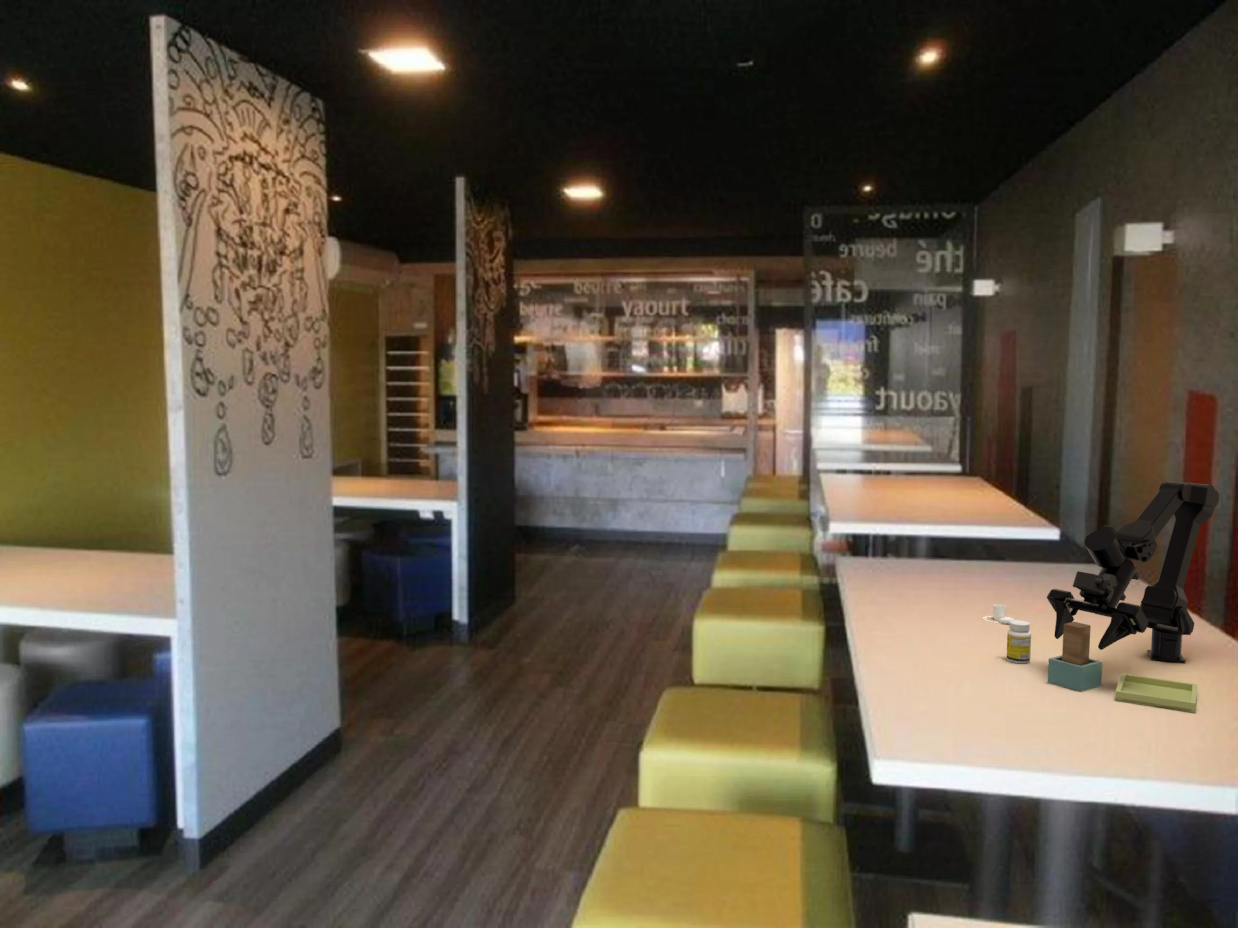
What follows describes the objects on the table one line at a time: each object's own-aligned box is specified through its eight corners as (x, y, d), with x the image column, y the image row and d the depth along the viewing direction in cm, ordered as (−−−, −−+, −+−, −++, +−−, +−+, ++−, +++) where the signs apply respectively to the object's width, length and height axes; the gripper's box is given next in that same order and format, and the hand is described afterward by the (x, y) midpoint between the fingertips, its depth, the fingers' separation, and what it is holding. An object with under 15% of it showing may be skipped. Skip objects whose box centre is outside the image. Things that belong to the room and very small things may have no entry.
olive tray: (1121, 681, 194) (1121, 673, 194) (1196, 693, 187) (1197, 684, 187) (1115, 700, 183) (1115, 690, 183) (1195, 712, 176) (1195, 703, 176)
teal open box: (1068, 676, 198) (1069, 653, 197) (1101, 685, 192) (1102, 661, 191) (1047, 681, 194) (1048, 658, 193) (1080, 691, 188) (1081, 667, 187)
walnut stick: (1071, 679, 195) (1073, 621, 194) (1087, 684, 192) (1090, 625, 191) (1060, 682, 193) (1063, 623, 192) (1077, 687, 190) (1080, 627, 189)
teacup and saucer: (1017, 627, 238) (1018, 611, 237) (983, 624, 240) (983, 608, 240) (1015, 619, 246) (1016, 603, 246) (982, 616, 249) (982, 600, 248)
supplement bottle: (1010, 656, 212) (1012, 618, 211) (1033, 660, 209) (1034, 621, 208) (1003, 661, 208) (1004, 622, 207) (1026, 665, 205) (1027, 626, 204)
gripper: (1054, 550, 201) (1019, 608, 196) (1143, 564, 186) (1108, 628, 181) (1074, 583, 206) (1040, 641, 201) (1163, 600, 191) (1129, 663, 186)
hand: (1077, 642), depth 192 cm, fingers open, 9 cm apart
